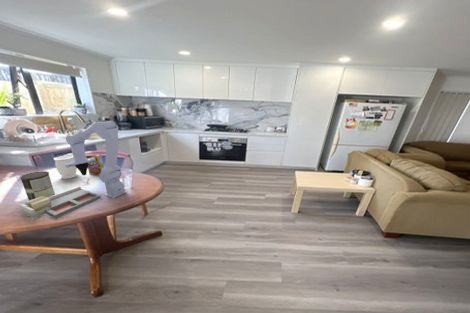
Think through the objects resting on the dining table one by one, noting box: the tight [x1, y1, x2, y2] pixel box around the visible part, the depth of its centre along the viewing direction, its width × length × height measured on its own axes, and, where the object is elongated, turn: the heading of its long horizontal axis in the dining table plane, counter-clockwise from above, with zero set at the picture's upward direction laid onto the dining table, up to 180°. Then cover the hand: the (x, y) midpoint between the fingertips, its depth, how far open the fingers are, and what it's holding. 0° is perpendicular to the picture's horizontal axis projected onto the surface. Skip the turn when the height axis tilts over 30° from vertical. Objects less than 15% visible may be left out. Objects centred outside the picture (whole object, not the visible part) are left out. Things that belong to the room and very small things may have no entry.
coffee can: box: [19, 170, 56, 201], centre depth 94 cm, size 10×10×14 cm
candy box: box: [86, 153, 105, 175], centre depth 127 cm, size 9×4×15 cm, turn 98°
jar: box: [53, 154, 78, 180], centre depth 121 cm, size 11×10×15 cm
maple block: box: [26, 196, 51, 212], centre depth 84 cm, size 6×6×4 cm
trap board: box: [19, 185, 102, 220], centre depth 90 cm, size 20×24×4 cm
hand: (84, 174), depth 105 cm, fingers closed
